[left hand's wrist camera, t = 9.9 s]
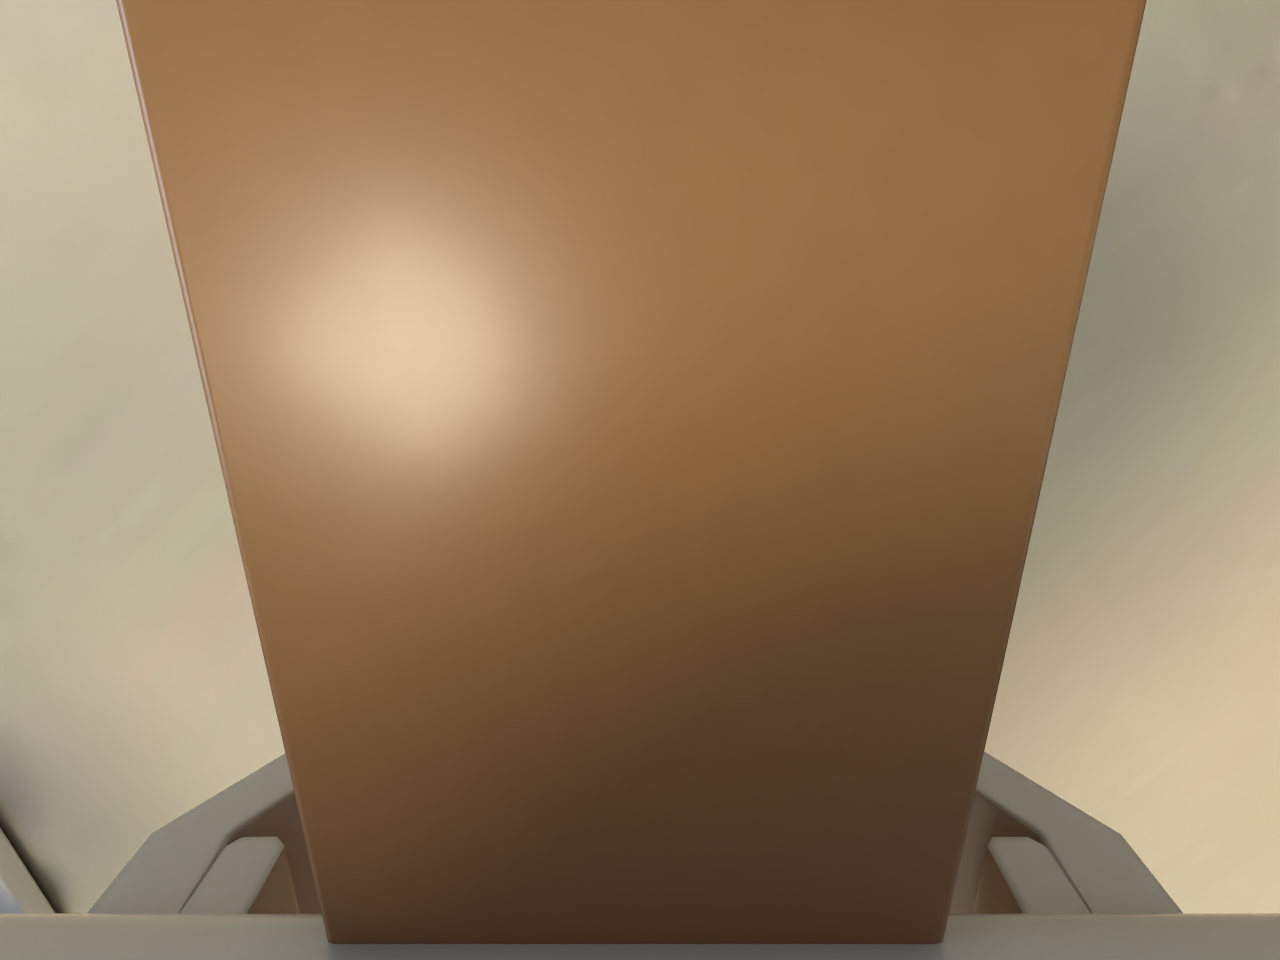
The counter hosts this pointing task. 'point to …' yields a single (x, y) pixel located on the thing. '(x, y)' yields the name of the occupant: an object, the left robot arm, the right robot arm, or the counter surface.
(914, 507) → the bar
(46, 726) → the counter surface
